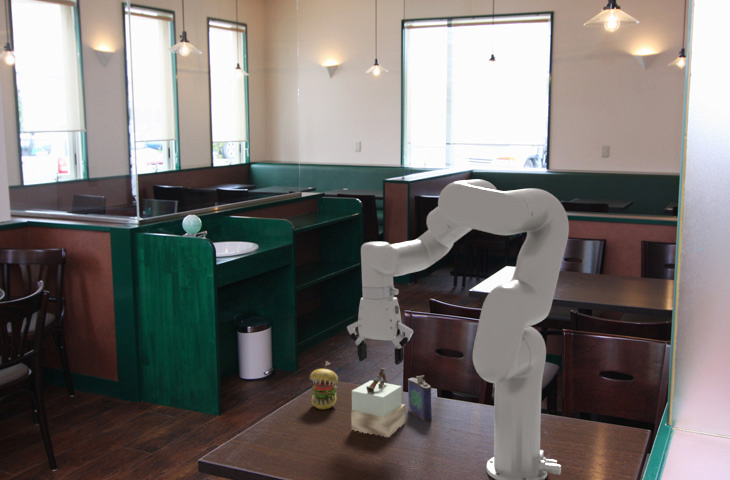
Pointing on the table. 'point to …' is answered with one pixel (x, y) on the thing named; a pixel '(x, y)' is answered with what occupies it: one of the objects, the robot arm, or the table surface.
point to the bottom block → (378, 422)
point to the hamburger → (324, 388)
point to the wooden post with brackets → (382, 374)
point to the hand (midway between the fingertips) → (380, 361)
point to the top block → (377, 399)
